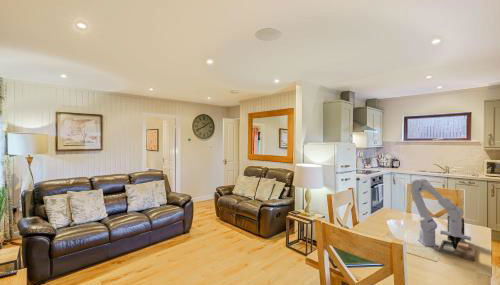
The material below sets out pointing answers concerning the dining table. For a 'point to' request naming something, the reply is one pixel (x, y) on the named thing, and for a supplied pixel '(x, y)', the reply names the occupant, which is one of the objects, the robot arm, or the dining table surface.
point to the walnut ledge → (465, 253)
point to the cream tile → (448, 248)
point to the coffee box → (461, 229)
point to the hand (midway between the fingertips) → (454, 248)
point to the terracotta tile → (463, 245)
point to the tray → (446, 243)
